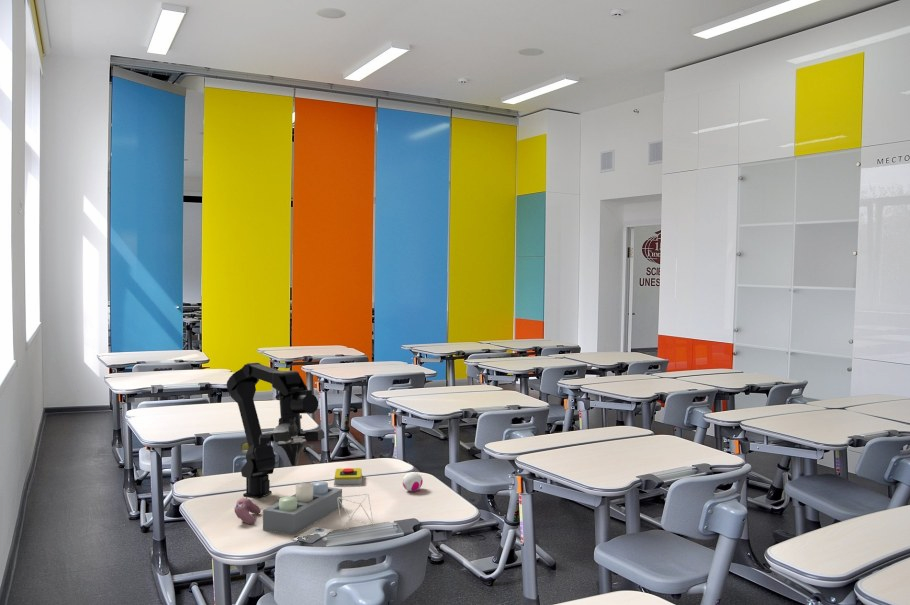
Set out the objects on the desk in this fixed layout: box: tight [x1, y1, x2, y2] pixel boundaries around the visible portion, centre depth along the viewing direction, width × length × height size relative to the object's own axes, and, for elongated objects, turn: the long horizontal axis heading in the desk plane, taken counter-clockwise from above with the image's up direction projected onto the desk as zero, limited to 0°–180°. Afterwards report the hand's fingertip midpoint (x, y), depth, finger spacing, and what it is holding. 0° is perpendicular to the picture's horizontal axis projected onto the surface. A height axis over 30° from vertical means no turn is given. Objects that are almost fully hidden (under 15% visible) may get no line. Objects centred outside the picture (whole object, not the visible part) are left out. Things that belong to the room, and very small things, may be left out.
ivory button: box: [295, 482, 313, 503], centre depth 198 cm, size 5×5×5 cm
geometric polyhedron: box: [337, 493, 374, 530], centre depth 193 cm, size 10×9×8 cm
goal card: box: [292, 526, 334, 542], centre depth 184 cm, size 6×10×1 cm, turn 159°
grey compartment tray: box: [262, 486, 343, 536], centre depth 198 cm, size 10×25×6 cm, turn 159°
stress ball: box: [401, 471, 423, 493], centre depth 226 cm, size 8×8×7 cm
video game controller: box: [234, 496, 262, 525], centre depth 197 cm, size 10×5×7 cm, turn 5°
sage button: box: [278, 495, 297, 512], centre depth 190 cm, size 5×5×5 cm
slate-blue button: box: [311, 480, 329, 495], centre depth 205 cm, size 5×5×5 cm
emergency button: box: [333, 467, 363, 488], centre depth 237 cm, size 9×4×15 cm
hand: (293, 465), depth 207 cm, fingers closed
